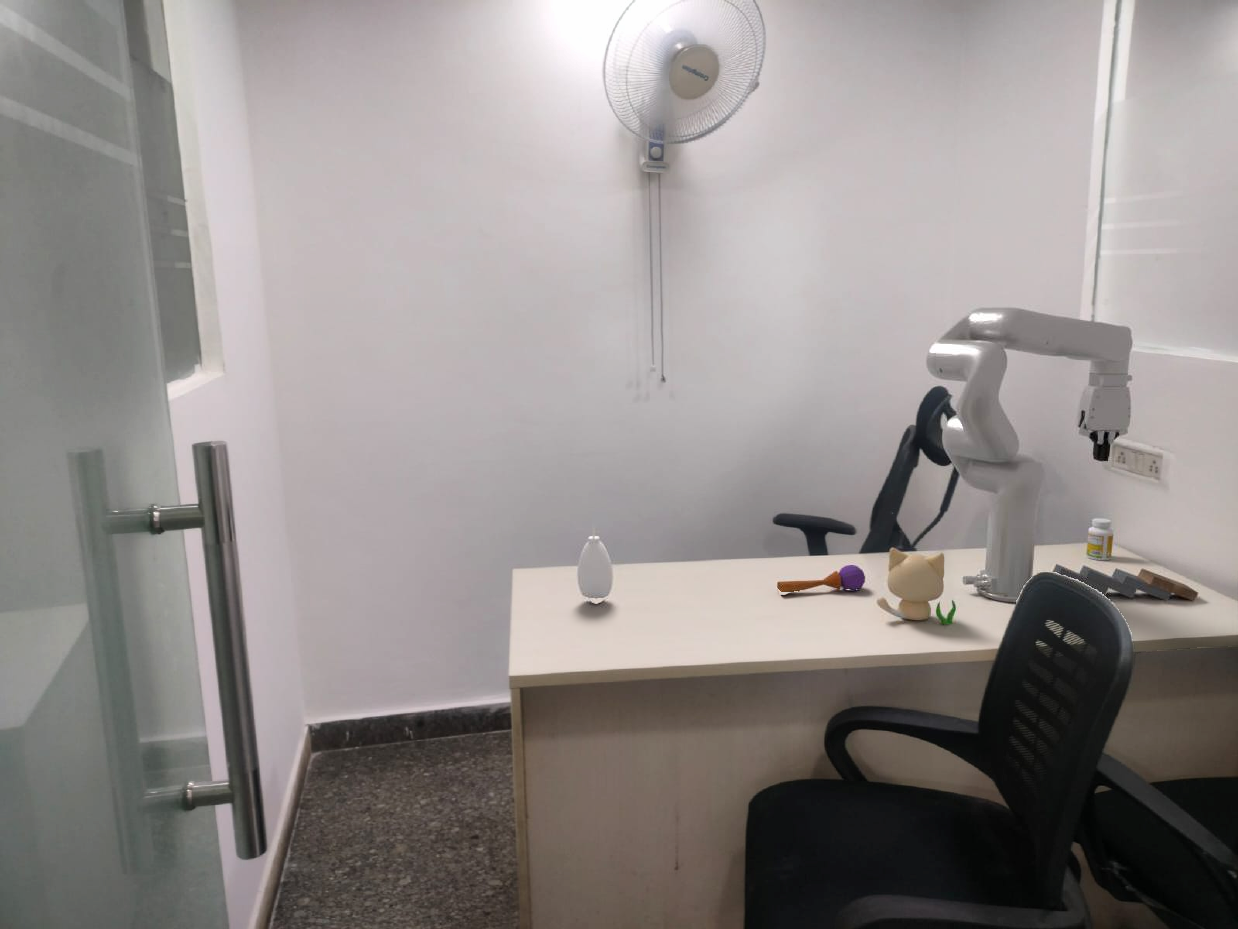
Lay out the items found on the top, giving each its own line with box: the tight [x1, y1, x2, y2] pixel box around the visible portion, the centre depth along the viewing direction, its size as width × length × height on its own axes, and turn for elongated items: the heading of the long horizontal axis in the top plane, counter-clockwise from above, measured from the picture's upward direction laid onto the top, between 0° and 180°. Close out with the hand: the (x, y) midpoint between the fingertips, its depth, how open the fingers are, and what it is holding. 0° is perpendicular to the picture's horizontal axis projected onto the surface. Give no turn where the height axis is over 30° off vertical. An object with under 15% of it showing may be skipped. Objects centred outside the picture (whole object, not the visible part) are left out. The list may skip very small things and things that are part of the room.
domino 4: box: [1136, 568, 1199, 602], centre depth 177 cm, size 2×5×10 cm
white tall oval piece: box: [577, 525, 614, 599], centre depth 182 cm, size 8×8×18 cm
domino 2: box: [1079, 565, 1138, 599], centre depth 179 cm, size 2×5×10 cm
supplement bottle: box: [1086, 517, 1114, 562], centre depth 204 cm, size 5×5×10 cm
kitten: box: [876, 547, 957, 626], centre depth 169 cm, size 15×10×15 cm, turn 64°
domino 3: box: [1111, 568, 1172, 601], centre depth 178 cm, size 2×5×10 cm
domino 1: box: [1052, 563, 1110, 596], centre depth 180 cm, size 2×5×10 cm
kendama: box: [776, 564, 866, 592], centre depth 186 cm, size 6×6×20 cm
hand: (1100, 460), depth 189 cm, fingers closed
